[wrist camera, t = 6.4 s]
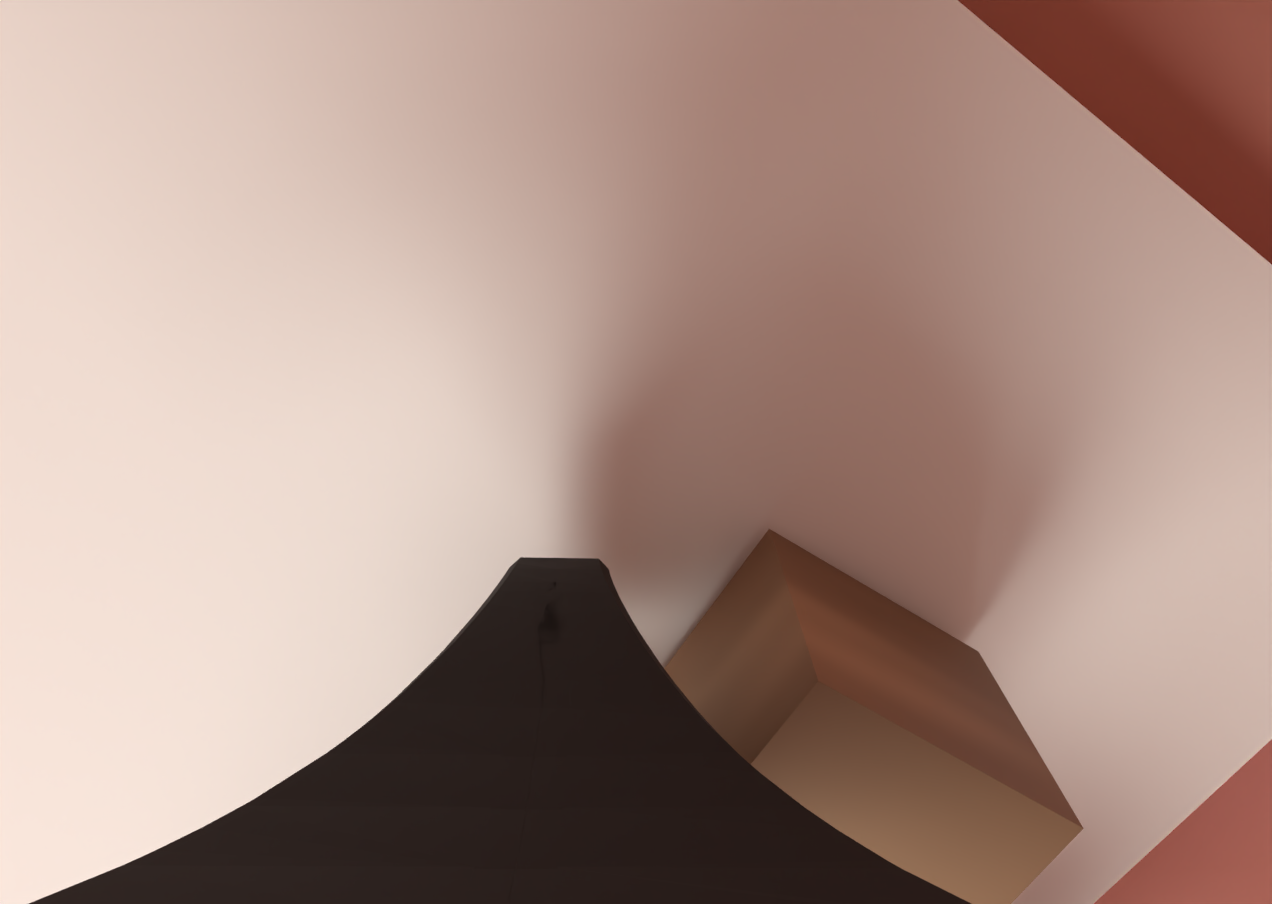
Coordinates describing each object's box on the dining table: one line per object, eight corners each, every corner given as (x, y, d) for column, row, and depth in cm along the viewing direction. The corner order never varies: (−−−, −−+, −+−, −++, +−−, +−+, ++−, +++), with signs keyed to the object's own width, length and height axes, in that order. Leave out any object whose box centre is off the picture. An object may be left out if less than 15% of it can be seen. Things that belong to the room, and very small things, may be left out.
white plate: (1464, 452, 14) (1540, 491, 12) (473, 1402, 20) (465, 1483, 19) (238, -569, 10) (189, -646, 9) (-498, 1026, 16) (-580, 1100, 15)
